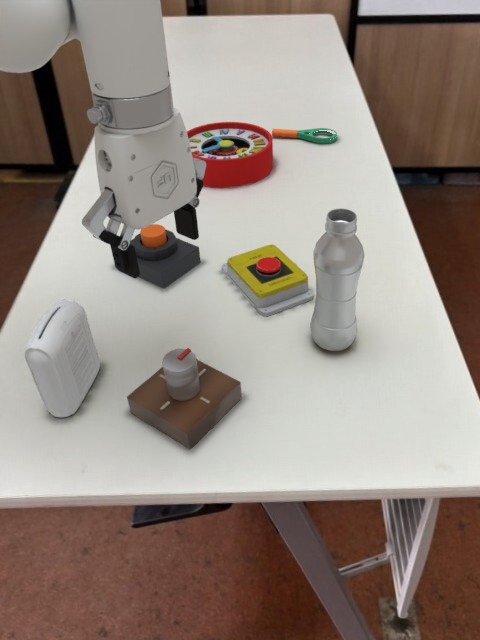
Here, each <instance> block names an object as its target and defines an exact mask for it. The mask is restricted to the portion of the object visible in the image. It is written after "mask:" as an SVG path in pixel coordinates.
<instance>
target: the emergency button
mask: <svg viewBox="0 0 480 640" xmlns="http://www.w3.org/2000/svg"><path fill="white" fill-rule="evenodd" d="M221 271H222V273H223V274H224V276H226V277H227V279H228V280H229V281H230V282H231V283H232V285H234V286H235V288H237V290H238V291H239V292H240V293H241V294H242V295H243V297H245V298H246V300H247V301H248V302H249V303H250V304H251V305H252V306H253V308H254V309H255V310H256V311H257V312H258V313H259V315H260V316H262V317H270V316H273V315H276V314H279V313H282V312H284V311H287V310H289V309H292V308H294V307H297V306H299V305H302V304H304V303H305V304H306V303H308V302H310V301H312V300H313V299H314V292H313V290H311V288H309V276H308V274H307V273H306V272H305V271H304V270H303V269H301V268H300V267H299V266H298V265H297V264H296V263H295V262H294V261H293V260H292V259H291V258H290V257H289V256H287V254H285V252H283V250H281V249H280V248H279V247H278V246H277V245H276V244H273V243H272V244H271V243H270V244H267V245H264V246H260V247H258V248H254V249H252V250H249V251H248V250H247V251H245V252H242V253H239V254H236V255H234V256H229V258H227V261H226V263H224V264H222V265H221Z"/></svg>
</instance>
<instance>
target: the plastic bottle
mask: <svg viewBox="0 0 480 640" xmlns="http://www.w3.org/2000/svg"><path fill="white" fill-rule="evenodd" d="M357 222H358V216H357V214H356V212H355V211H353V210H351V209H348V208H334V209H331V210H329V211H328V212H327V213H326V219H325V224H324V230H325V232H324V233H323V234H322V235H321V237H320V238H319V239H318V240H317V241H316V243H315V245H314V248H313V251H312V252H313V253H312V254H313V264H314V273H315V293H316V294H315V301H314V307H313V313H312V316H311V319H310V324H309V325H310V326H309V327H310V328H309V329H310V332H311V337H312V340H313V341H314V342H315V344H317V345H318V347H320V348H321V349H323V350H325V351H329V352H340V351H344V350H346V349H348V347H350V346H351V345H352V344H353V343H354V342H355V339H356V336H357V333H358V320H357V314H356V313H357V311H356V309H357V304H356V303H357V299H356V298H357V291H358V286H359V280H360V276H361V272H362V269H363V265H364V261H365V250H364V246H363V243H362V242H361V240H360V238H359V237H358V236H357V235H356V233H357V231H358V225H357Z"/></svg>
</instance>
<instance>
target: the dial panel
mask: <svg viewBox="0 0 480 640" xmlns="http://www.w3.org/2000/svg"><path fill="white" fill-rule="evenodd" d="M196 360H197V367H198V374H199V382H200V391H199V393H198V394H197V395H196V396H195V397H194V398H192V399H190V400H186V401H179V400H175V399H173V398H172V397H170V395H169V393H168V389H167V384H166V379H165V374H164V369H163V366H162V367H161V368H159V369H158V370H157V371H155V372H154V373H153V374H152V375H151V376H150V377H149V378H147V379H146V380H145V381H144V382H142V383H141V384H140V385H139V386H138V387H137V388H135V389H134V390H133V391H132V392H131V393H129V394H128V395H127V396H126V399H127V404H128V407H129V410H130V413H131V414H132V415H134V416H136V417H137V418H139V419H140V420H141V421H144V422H145V423H147V424H149V425H150V426H151V427H153V428H154V429H157V430H158V431H159V432H161V433H163V434H165V435H167V436H168V437H170V438H171V439H173V440H174V441H176V442H178V443H179V444H181V445H183V446H184V447H186V448H188V449H189V450H191V449H193V447H194V446H196V445H197V443H198V442H199V441H201V440H202V439H203V437H204V436H205V435H206V434H208V432H209V431H210V430H212V428H214V426H215V425H216V424H218V422H220V420H221V419H223V418H224V416H225V415H226V414H227V413H228V412H230V411H231V409H232V408H234V407H235V405H236V404H237V403H238V402H239V401H240V400H242V398H243V397H242V383H241V381H240V380H237V379H236V378H234V377H232V376H230V375H228V374H226V373H224V372H222V371H220V370H218V369H216V368H215V367H213V366H210V365H209V364H208V363H207V364H206V363H205V362H204V361H201V360H199V359H198V358H196Z"/></svg>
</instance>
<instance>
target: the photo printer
mask: <svg viewBox="0 0 480 640" xmlns="http://www.w3.org/2000/svg"><path fill="white" fill-rule="evenodd" d="M86 312H87V311H86V310H85V308H84V307H83V306H82V304H80V303H79V302H78V301H77V300H74V299H66V298H65V299H62V300H60V301H58V302H56V303H55V304H54V305H52V306H51V307H50V308H49V309H48V310H47V311H46V312H45V313H44V314H43V315H42V316H41V318H40V319H39V320H38V322H37V323H36V325H35V327H34V328H33V330H32V332H31V334H30V336H29V338H28V340H27V342H26V346H25V348H24V359H25V362H26V365H27V367H28V369H29V371H30V374H31V376H32V379H33V382H34V385H35V386H36V389H37V391H38V394H39V397H40V399H41V401H42V403H43V406H44V408H45V410H46V411H47V412H49V414H51V416H53V417H56V418H67V417H70V416H71V415H74V414H75V413H76V412H77V410H78V409H79V407H81V405H82V402H83V401H84V399H85V397H86V396H87V394H88V392H89V390H90V388H91V386H92V385H93V383H94V381H95V379H96V377H97V376H98V373H99V371H100V368H101V360H100V358H99V354H98V350H97V347H96V343H95V341H94V337H93V333H92V331H91V330H92V329H91V327H90V322H89V320H88V315H87V313H86Z"/></svg>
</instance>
